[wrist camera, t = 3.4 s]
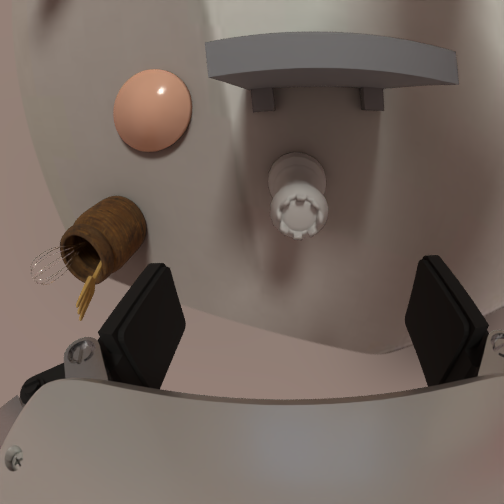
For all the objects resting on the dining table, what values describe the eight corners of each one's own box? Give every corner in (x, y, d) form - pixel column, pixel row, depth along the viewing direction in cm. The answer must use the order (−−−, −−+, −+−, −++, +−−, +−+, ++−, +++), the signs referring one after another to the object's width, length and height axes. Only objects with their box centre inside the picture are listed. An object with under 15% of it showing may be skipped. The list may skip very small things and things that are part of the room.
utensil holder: (98, 188, 24) (9, 249, 14) (154, 201, 24) (71, 277, 14) (99, 240, 27) (27, 311, 17) (150, 256, 27) (86, 342, 17)
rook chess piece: (275, 144, 20) (267, 167, 13) (332, 160, 20) (353, 191, 13) (262, 197, 23) (249, 244, 16) (316, 211, 23) (326, 264, 16)
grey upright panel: (378, 50, 15) (449, 15, 6) (383, 110, 18) (459, 124, 8) (244, 51, 17) (201, 5, 7) (251, 112, 19) (213, 120, 10)
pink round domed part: (186, 61, 18) (184, 59, 17) (197, 143, 21) (195, 144, 20) (112, 82, 19) (108, 82, 18) (124, 156, 22) (120, 158, 22)
